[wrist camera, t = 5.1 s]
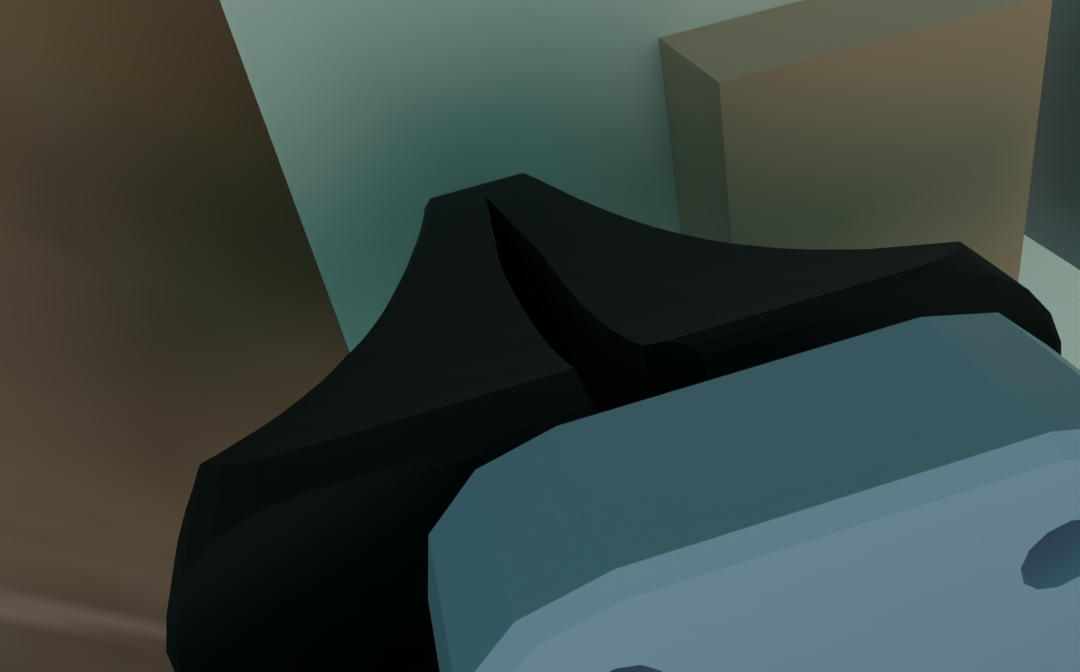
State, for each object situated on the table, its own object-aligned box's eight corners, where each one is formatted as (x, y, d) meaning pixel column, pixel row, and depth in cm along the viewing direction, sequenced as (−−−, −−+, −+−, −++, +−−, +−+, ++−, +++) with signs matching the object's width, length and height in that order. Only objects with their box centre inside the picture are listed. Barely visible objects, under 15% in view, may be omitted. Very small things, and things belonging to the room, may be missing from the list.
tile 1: (932, 231, 14) (1016, 291, 13) (688, 301, 14) (741, 373, 12) (948, -39, 12) (1053, -8, 10) (658, 37, 12) (718, 82, 10)
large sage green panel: (1136, 289, 20) (1256, 363, 18) (426, 502, 19) (446, 615, 16) (1317, -588, 12) (1576, -678, 10) (131, -337, 11) (84, -368, 8)
